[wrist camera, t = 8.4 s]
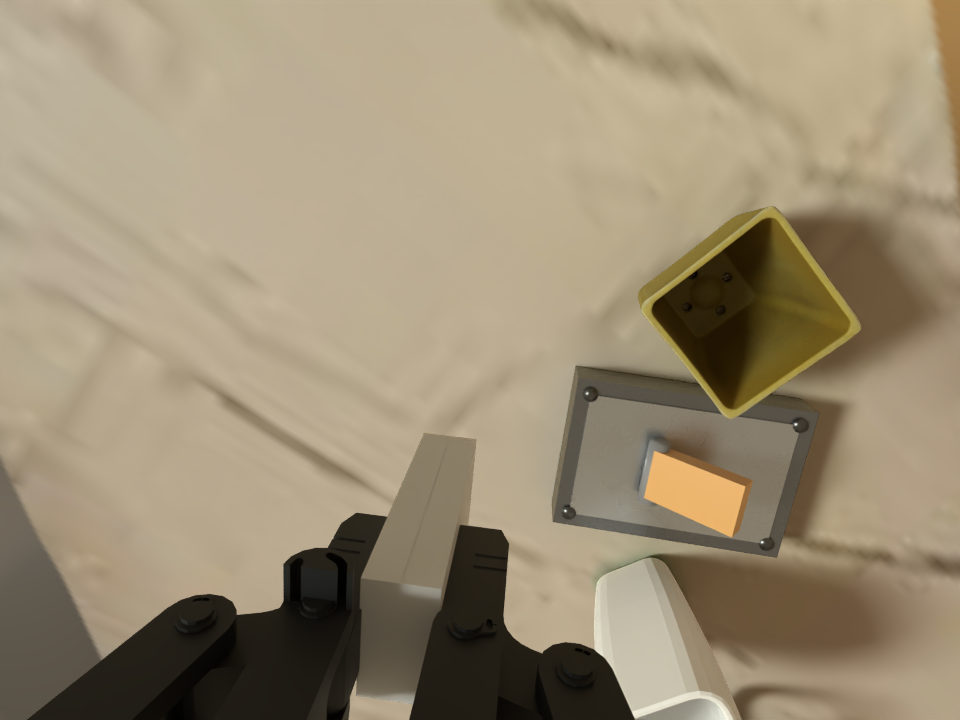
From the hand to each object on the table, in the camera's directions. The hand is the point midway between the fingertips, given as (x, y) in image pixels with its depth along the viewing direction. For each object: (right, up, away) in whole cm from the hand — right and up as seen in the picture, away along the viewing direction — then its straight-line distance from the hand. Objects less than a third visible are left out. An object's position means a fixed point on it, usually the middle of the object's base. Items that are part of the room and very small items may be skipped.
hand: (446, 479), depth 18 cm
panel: (+15, -3, +28) cm, 32 cm away
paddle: (+13, -4, +24) cm, 28 cm away
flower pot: (+17, +8, +25) cm, 31 cm away
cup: (+14, -15, +31) cm, 37 cm away
